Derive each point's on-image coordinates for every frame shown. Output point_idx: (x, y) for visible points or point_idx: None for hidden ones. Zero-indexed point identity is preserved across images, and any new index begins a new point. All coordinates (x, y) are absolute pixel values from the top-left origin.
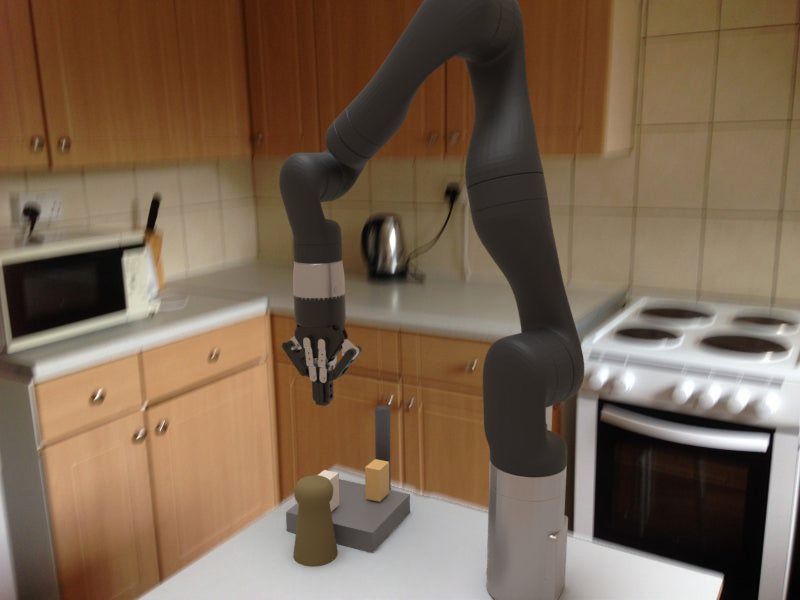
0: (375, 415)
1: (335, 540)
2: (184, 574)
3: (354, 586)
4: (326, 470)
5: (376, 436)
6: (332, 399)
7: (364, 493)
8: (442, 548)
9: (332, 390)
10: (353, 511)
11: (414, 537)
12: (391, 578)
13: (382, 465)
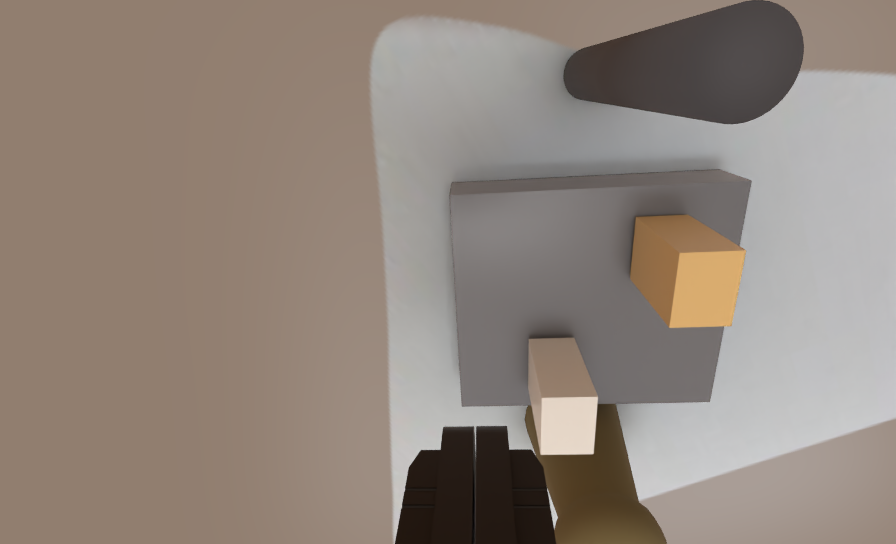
0: (676, 107)
1: (616, 418)
2: (394, 538)
3: (692, 466)
4: (550, 397)
5: (637, 106)
6: (533, 454)
7: (606, 241)
8: (847, 291)
9: (550, 520)
10: (621, 340)
11: (765, 277)
12: (755, 424)
13: (729, 289)
